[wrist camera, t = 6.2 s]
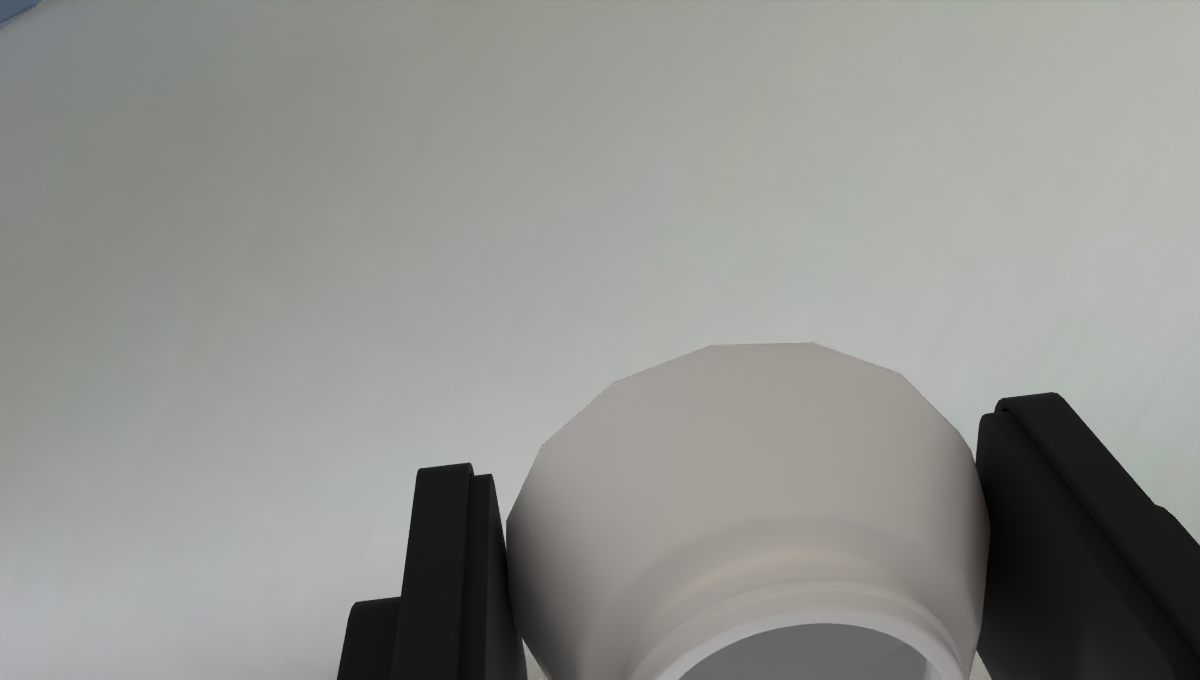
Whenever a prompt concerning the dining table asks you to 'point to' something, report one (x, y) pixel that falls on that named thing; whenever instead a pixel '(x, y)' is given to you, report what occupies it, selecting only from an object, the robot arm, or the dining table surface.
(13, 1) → the tin
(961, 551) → the lidless jar
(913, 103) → the dining table surface
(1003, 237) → the dining table surface
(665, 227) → the dining table surface
